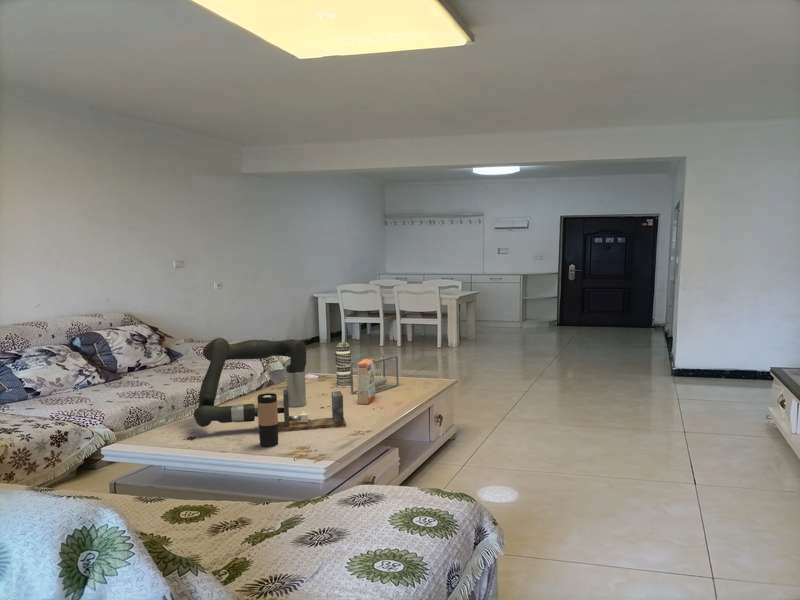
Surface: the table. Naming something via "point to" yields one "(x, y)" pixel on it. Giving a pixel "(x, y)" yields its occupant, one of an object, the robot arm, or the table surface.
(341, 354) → the decorative candle
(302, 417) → the cream lever switch
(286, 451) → the table surface
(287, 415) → the brushed metal plate
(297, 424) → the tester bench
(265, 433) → the travel mug
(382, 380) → the newton's cradle
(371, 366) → the cracker box
